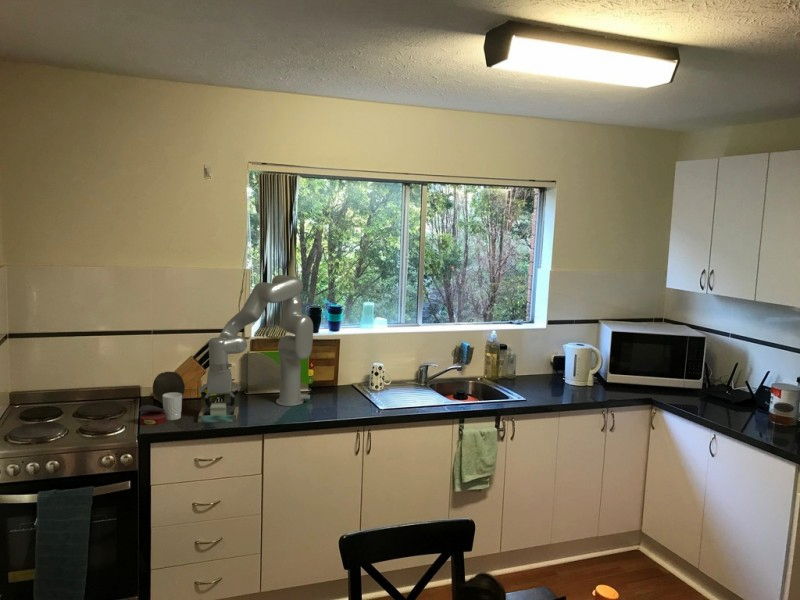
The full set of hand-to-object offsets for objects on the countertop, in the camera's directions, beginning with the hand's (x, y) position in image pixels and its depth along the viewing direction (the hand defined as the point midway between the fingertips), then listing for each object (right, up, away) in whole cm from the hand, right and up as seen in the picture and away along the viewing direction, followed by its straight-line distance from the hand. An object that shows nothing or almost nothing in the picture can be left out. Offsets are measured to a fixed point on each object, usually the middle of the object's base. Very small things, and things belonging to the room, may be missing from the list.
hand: (220, 405), depth 274 cm
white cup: (-20, -5, -1) cm, 21 cm away
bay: (-1, -5, +1) cm, 5 cm away
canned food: (-26, -6, -7) cm, 28 cm away
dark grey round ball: (-28, -2, +17) cm, 33 cm away
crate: (-1, -5, 0) cm, 5 cm away
